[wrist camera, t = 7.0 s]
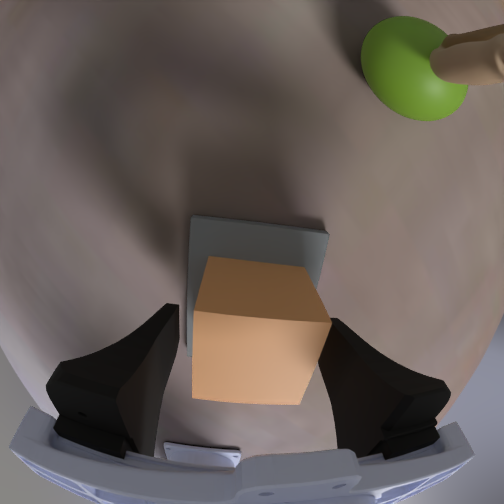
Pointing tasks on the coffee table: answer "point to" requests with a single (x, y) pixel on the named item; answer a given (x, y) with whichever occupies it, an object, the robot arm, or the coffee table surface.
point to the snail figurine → (429, 65)
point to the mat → (249, 250)
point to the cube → (256, 332)
